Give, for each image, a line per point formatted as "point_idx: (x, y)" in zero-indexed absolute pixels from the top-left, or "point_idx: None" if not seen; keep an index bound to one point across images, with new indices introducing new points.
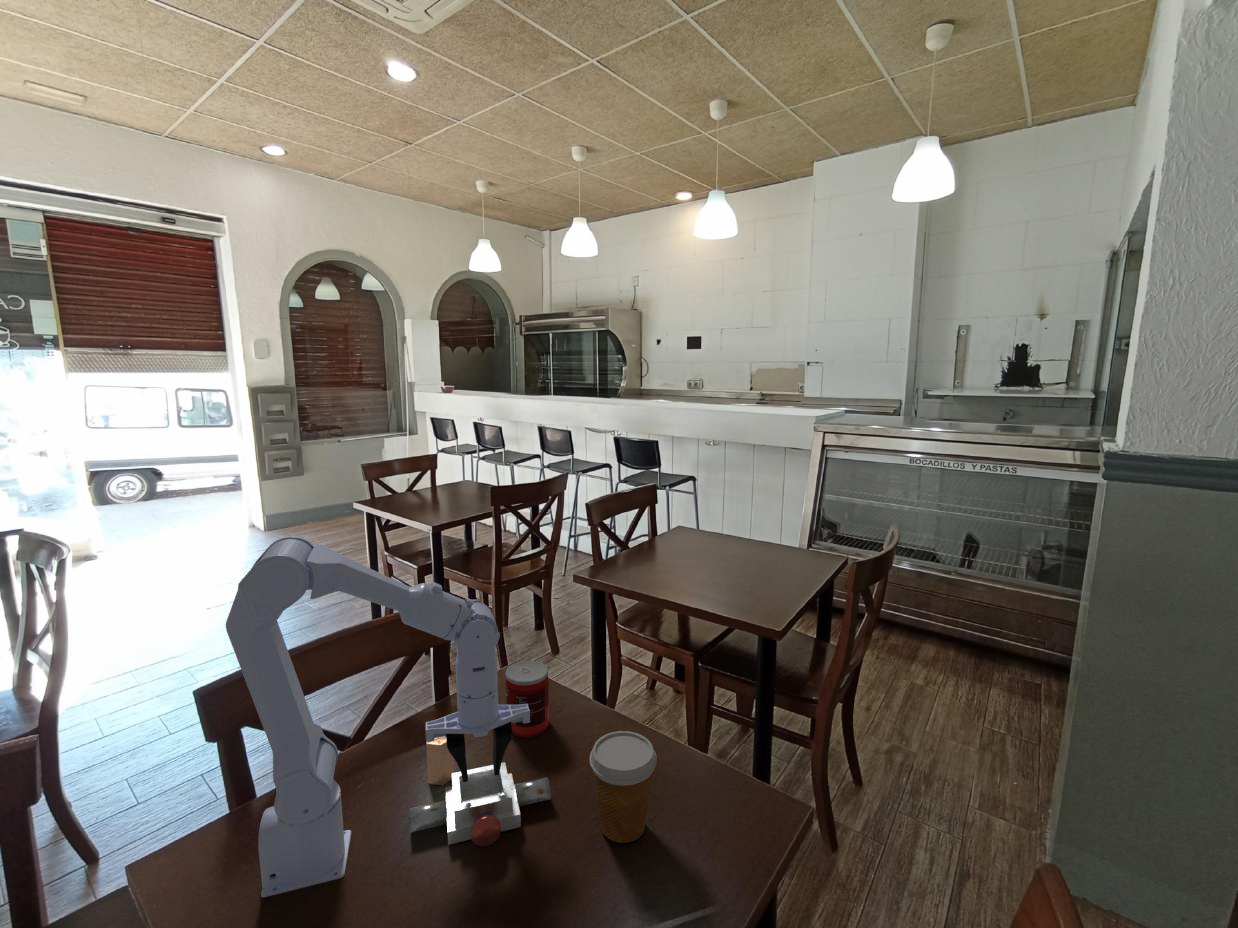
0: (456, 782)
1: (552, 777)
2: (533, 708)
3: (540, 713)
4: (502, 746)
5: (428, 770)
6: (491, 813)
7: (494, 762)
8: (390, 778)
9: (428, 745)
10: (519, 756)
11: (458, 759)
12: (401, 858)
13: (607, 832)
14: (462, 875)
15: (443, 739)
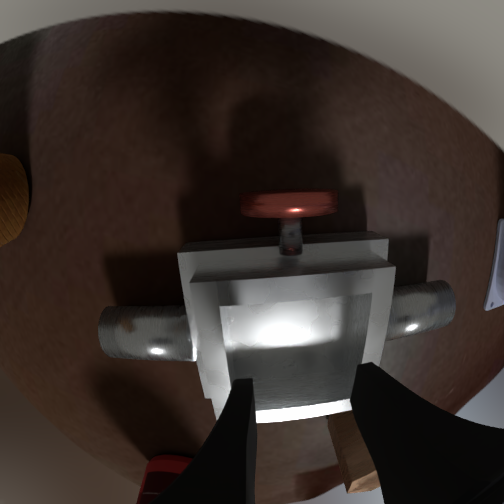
0: None
1: (123, 370)
2: None
3: (150, 487)
4: (198, 495)
5: None
6: (268, 263)
7: (253, 422)
8: None
9: None
10: (196, 431)
11: (450, 421)
12: (443, 229)
13: (15, 168)
14: (339, 136)
15: (374, 475)
